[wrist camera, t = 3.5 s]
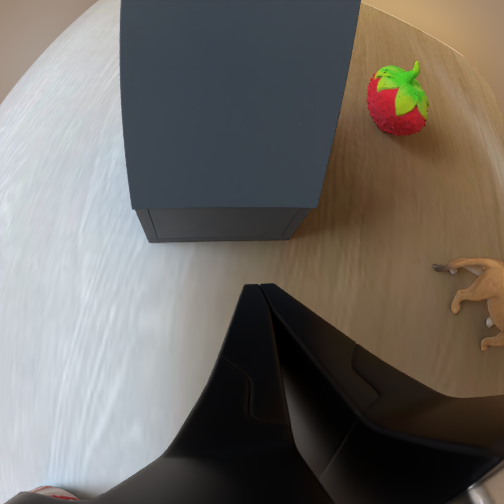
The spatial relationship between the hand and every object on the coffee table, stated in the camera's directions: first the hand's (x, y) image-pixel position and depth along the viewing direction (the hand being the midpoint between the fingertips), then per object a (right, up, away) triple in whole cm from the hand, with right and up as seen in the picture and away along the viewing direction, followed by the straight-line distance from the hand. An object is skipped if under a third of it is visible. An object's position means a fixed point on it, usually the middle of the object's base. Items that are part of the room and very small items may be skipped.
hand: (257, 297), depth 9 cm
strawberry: (+13, +14, +21) cm, 29 cm away
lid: (-1, +9, +5) cm, 10 cm away
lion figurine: (+22, -5, +17) cm, 28 cm away
